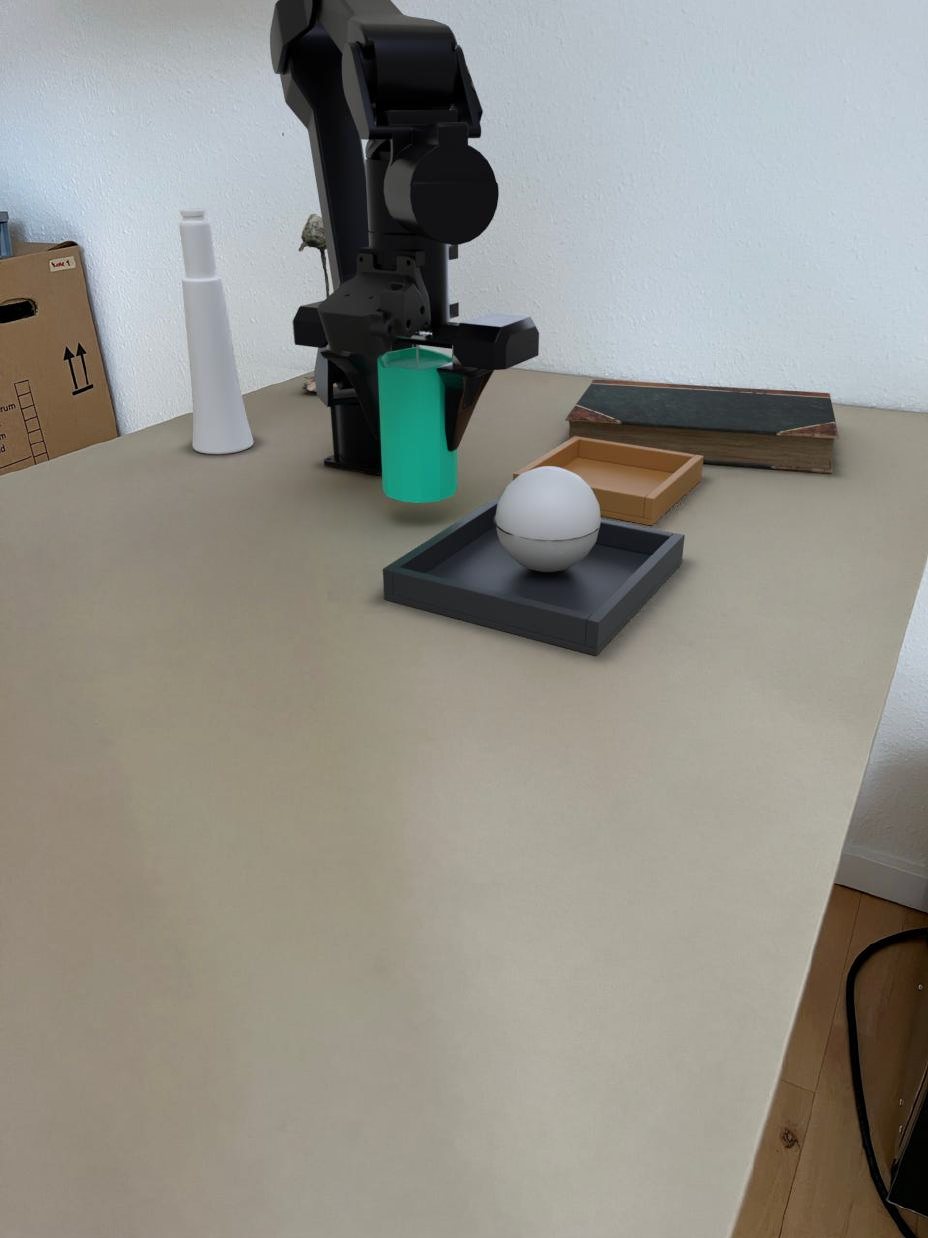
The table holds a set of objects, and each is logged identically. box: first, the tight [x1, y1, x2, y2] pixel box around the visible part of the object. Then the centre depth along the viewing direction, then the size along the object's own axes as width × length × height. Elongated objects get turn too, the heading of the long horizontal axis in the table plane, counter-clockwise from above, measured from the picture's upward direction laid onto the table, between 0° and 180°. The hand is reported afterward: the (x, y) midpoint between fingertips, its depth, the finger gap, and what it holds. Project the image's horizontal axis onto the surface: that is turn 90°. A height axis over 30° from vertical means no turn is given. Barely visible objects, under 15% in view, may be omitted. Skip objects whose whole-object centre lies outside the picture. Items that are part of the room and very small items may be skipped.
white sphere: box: [493, 466, 602, 572], centre depth 64 cm, size 10×7×7 cm
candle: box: [378, 345, 458, 504], centre depth 73 cm, size 6×6×12 cm
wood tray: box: [512, 436, 704, 527], centre depth 82 cm, size 13×13×2 cm
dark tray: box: [382, 497, 686, 656], centre depth 66 cm, size 16×16×2 cm
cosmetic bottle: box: [178, 208, 255, 455], centre depth 90 cm, size 6×6×22 cm
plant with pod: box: [298, 213, 337, 393], centre depth 111 cm, size 8×11×20 cm
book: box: [564, 378, 840, 474], centre depth 95 cm, size 17×4×25 cm
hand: (415, 443), depth 74 cm, fingers closed on candle, 6 cm apart
